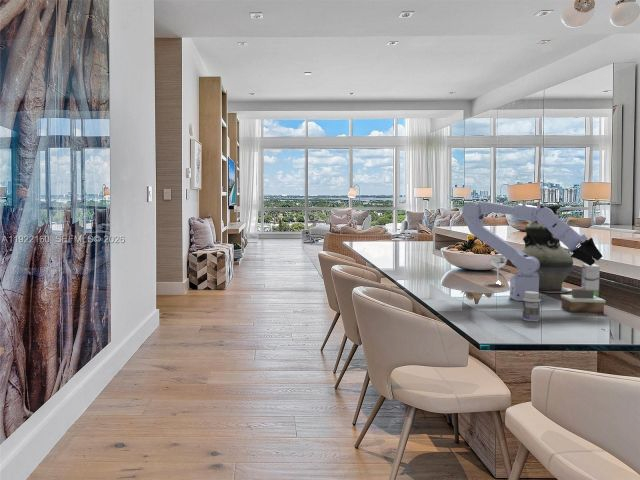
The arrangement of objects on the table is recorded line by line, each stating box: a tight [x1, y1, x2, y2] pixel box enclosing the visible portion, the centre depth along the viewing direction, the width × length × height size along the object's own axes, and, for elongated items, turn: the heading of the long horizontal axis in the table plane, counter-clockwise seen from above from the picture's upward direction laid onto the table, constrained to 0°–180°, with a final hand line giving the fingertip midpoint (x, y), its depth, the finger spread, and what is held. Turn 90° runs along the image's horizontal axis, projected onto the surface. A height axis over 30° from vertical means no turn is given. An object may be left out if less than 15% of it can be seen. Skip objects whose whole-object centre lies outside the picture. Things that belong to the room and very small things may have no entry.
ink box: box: [581, 263, 601, 297], centre depth 194 cm, size 9×5×12 cm, turn 162°
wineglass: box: [490, 254, 508, 285], centre depth 223 cm, size 7×7×12 cm
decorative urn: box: [520, 204, 574, 294], centre depth 205 cm, size 21×21×35 cm
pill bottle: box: [522, 291, 541, 322], centre depth 150 cm, size 5×5×8 cm
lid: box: [560, 288, 607, 304], centre depth 165 cm, size 11×9×3 cm
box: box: [561, 297, 605, 314], centre depth 165 cm, size 10×8×3 cm
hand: (596, 261), depth 171 cm, fingers open, 7 cm apart
